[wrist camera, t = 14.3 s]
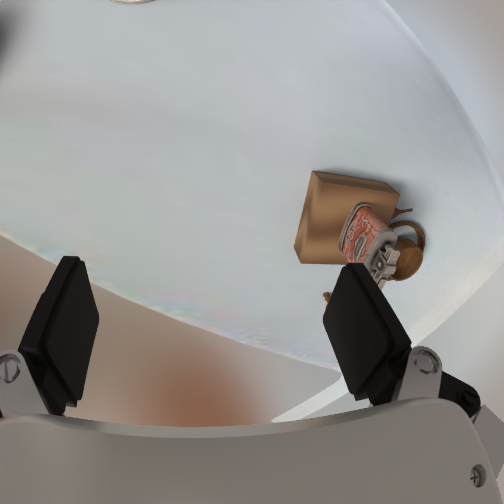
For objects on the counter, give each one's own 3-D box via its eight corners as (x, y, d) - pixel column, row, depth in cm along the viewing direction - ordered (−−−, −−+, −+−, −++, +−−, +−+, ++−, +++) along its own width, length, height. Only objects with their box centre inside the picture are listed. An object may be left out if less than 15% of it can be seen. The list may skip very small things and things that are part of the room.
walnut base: (311, 170, 38) (322, 182, 35) (385, 182, 40) (399, 194, 37) (293, 247, 45) (300, 263, 41) (362, 250, 47) (372, 265, 44)
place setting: (409, 280, 54) (424, 299, 49) (317, 301, 53) (327, 325, 48) (427, 201, 44) (448, 218, 39) (319, 215, 43) (333, 237, 38)
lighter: (353, 199, 37) (391, 242, 28) (374, 203, 37) (414, 245, 29) (333, 251, 41) (362, 300, 33) (354, 253, 42) (384, 300, 33)
